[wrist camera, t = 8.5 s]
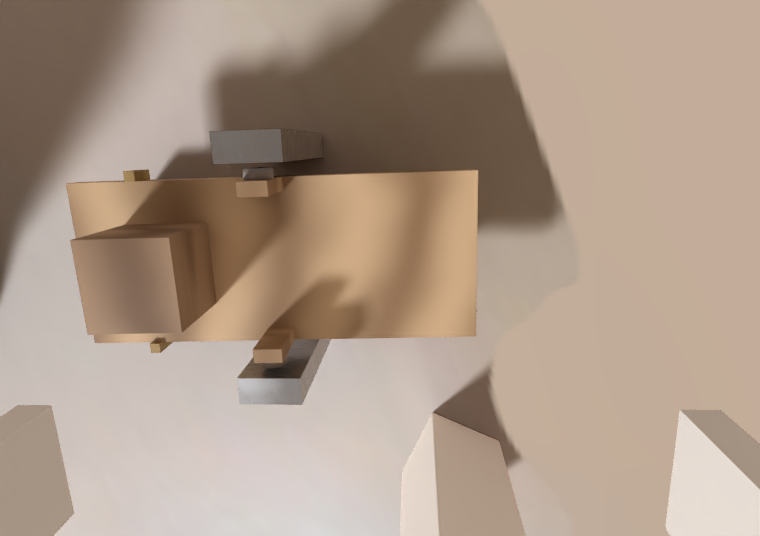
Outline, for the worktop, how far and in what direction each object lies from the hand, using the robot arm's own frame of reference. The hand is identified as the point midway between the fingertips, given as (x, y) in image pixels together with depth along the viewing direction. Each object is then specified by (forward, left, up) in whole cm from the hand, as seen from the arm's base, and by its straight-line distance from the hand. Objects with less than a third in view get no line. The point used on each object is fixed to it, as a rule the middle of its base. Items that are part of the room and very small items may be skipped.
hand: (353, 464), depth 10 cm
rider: (-10, -9, -19) cm, 23 cm away
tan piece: (-6, -5, -25) cm, 26 cm away
